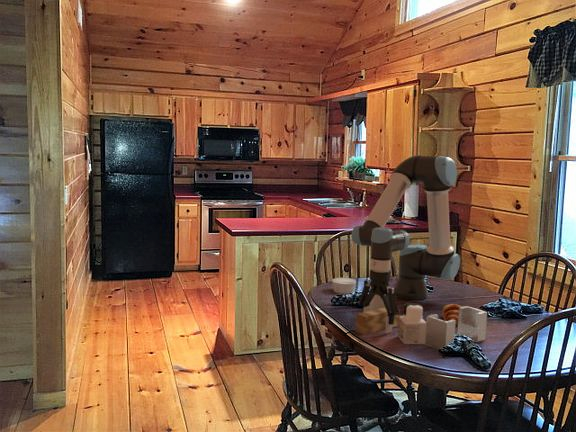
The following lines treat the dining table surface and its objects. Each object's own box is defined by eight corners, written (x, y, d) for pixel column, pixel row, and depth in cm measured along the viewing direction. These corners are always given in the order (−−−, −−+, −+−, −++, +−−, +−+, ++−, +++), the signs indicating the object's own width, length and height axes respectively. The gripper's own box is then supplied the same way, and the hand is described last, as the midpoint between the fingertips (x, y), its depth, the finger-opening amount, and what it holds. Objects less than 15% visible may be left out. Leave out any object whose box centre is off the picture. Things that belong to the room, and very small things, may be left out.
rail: (390, 322, 207) (390, 305, 206) (398, 325, 204) (399, 309, 203) (355, 331, 197) (356, 313, 196) (363, 334, 193) (364, 317, 192)
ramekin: (340, 296, 242) (341, 284, 241) (326, 290, 252) (327, 279, 251) (360, 293, 248) (361, 282, 247) (346, 287, 257) (346, 276, 257)
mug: (390, 320, 210) (391, 292, 208) (367, 317, 212) (368, 290, 211) (394, 311, 221) (395, 285, 219) (372, 309, 224) (373, 283, 222)
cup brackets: (464, 332, 197) (466, 305, 196) (485, 339, 191) (487, 312, 189) (425, 344, 185) (426, 316, 183) (445, 352, 178) (446, 322, 176)
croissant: (448, 319, 224) (440, 301, 224) (471, 311, 220) (463, 293, 221) (444, 334, 204) (435, 315, 205) (469, 325, 201) (460, 306, 201)
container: (397, 336, 192) (399, 301, 190) (418, 336, 193) (420, 301, 191) (403, 344, 184) (405, 307, 183) (425, 344, 185) (428, 307, 183)
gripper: (350, 264, 204) (348, 320, 207) (396, 278, 186) (393, 339, 188) (365, 262, 209) (362, 317, 212) (411, 275, 190) (408, 335, 193)
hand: (377, 327), depth 200 cm, fingers open, 11 cm apart
